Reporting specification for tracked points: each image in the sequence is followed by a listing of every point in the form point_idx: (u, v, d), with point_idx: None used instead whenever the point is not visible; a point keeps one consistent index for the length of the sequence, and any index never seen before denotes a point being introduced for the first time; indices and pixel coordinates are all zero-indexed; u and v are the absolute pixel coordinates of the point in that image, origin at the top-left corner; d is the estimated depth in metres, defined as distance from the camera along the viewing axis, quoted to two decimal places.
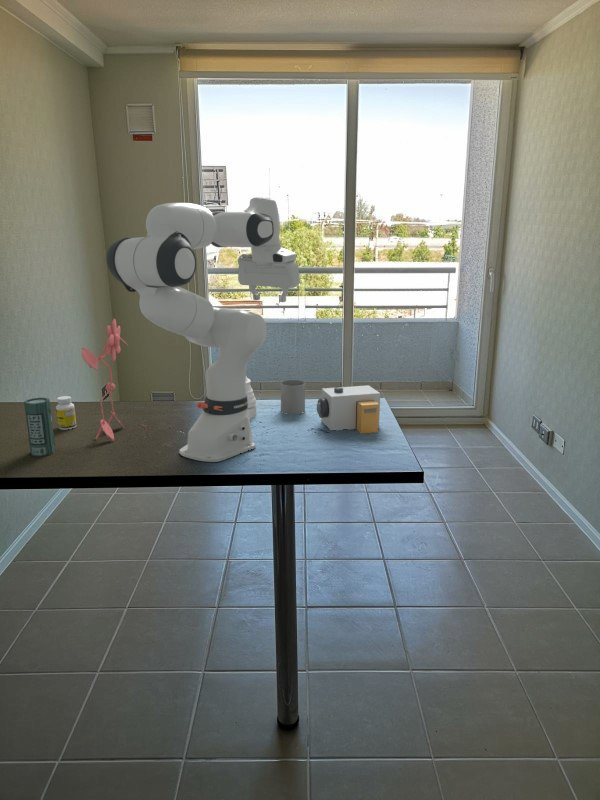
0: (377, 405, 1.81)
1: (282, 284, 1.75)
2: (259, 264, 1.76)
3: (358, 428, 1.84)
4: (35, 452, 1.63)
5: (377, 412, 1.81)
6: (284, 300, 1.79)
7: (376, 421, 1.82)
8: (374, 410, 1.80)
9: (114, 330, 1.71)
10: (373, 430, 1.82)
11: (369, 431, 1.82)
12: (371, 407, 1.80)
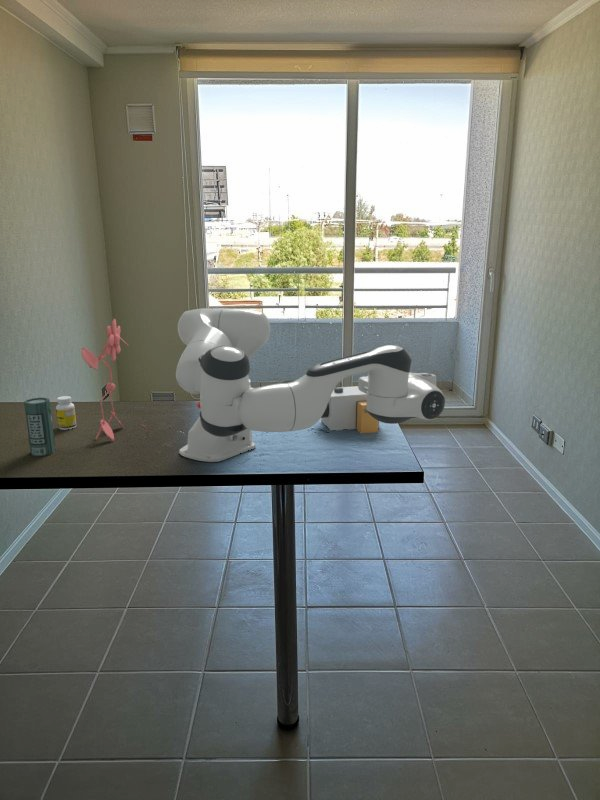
0: None
1: None
2: None
3: (358, 428, 1.84)
4: (35, 452, 1.63)
5: None
6: None
7: (376, 421, 1.82)
8: None
9: (114, 330, 1.71)
10: (373, 430, 1.82)
11: (369, 431, 1.82)
12: None
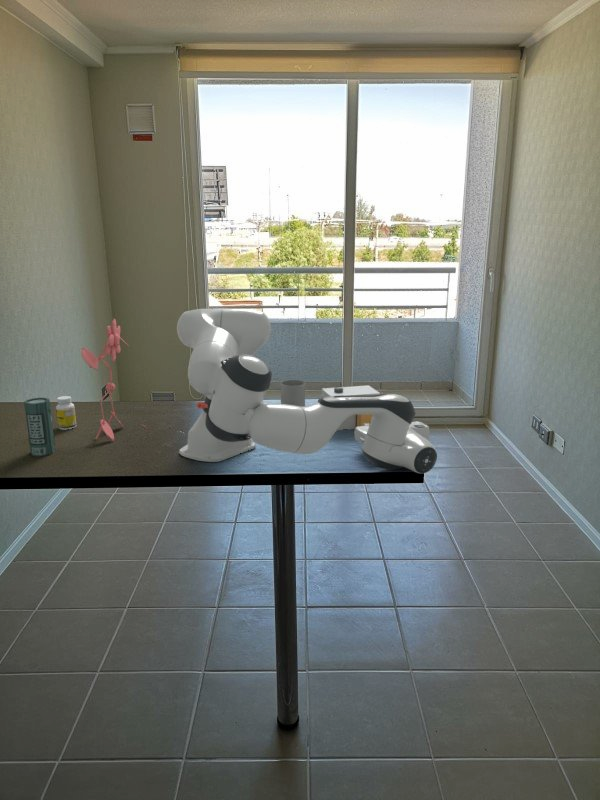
0: None
1: None
2: None
3: None
4: (35, 452, 1.63)
5: None
6: None
7: None
8: None
9: (114, 330, 1.71)
10: None
11: None
12: None
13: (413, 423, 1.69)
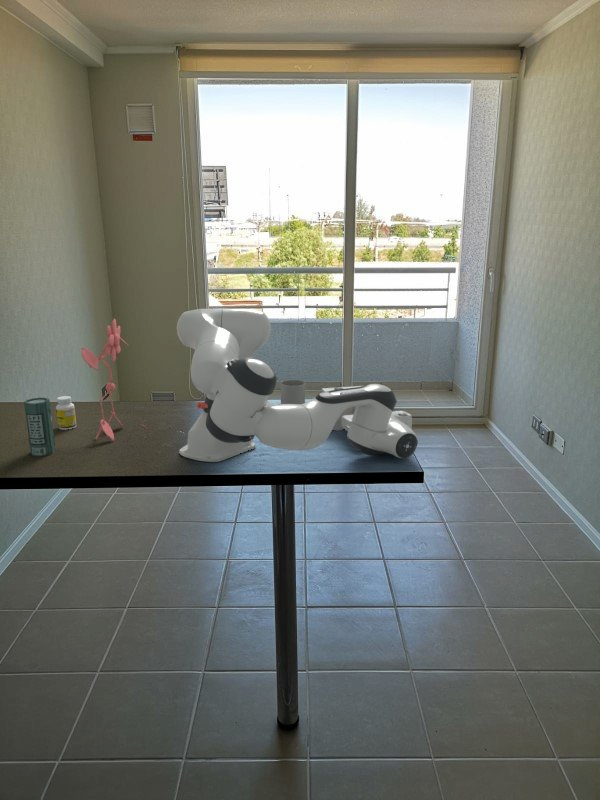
0: None
1: None
2: None
3: None
4: (35, 452, 1.63)
5: None
6: None
7: None
8: None
9: (114, 330, 1.71)
10: None
11: None
12: None
13: (397, 412, 1.79)
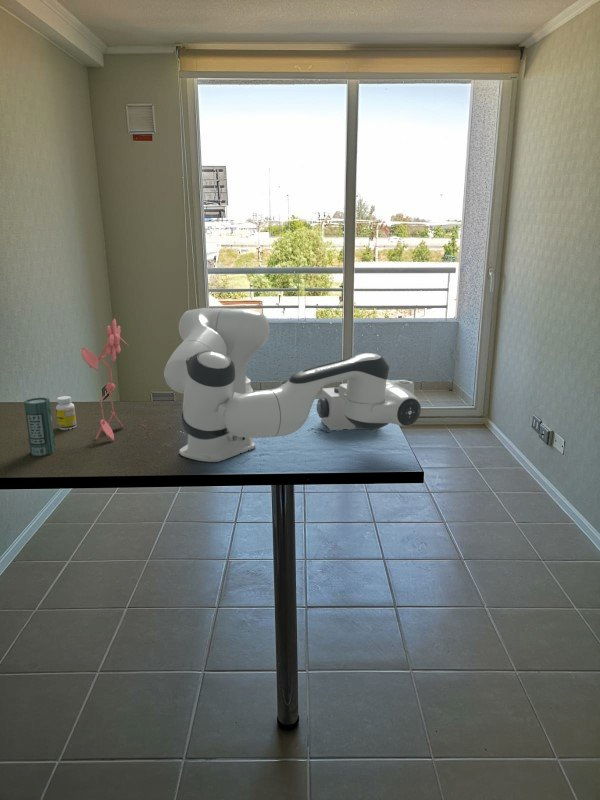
0: None
1: None
2: None
3: None
4: (35, 452, 1.63)
5: None
6: None
7: None
8: None
9: (114, 330, 1.71)
10: None
11: None
12: None
13: (398, 381, 1.67)
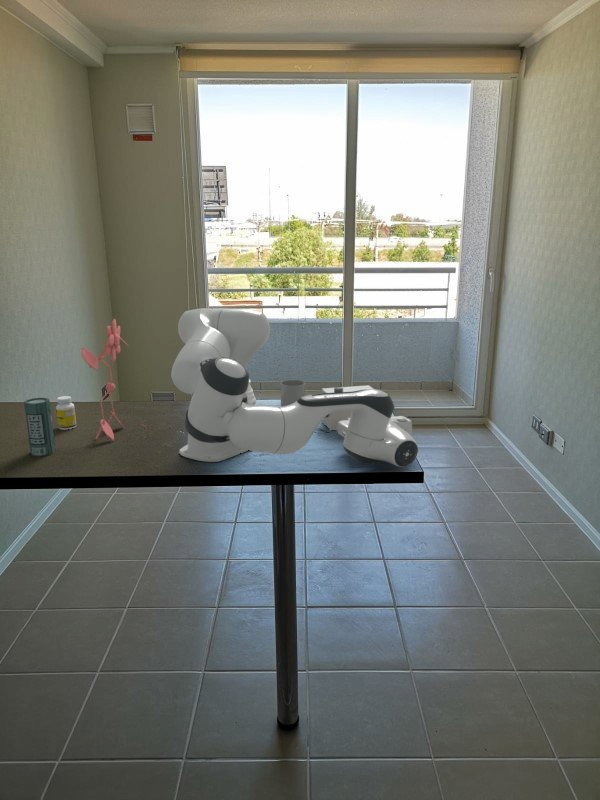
0: None
1: None
2: None
3: None
4: (35, 452, 1.63)
5: None
6: None
7: None
8: None
9: (114, 330, 1.71)
10: None
11: None
12: None
13: (396, 417, 1.70)
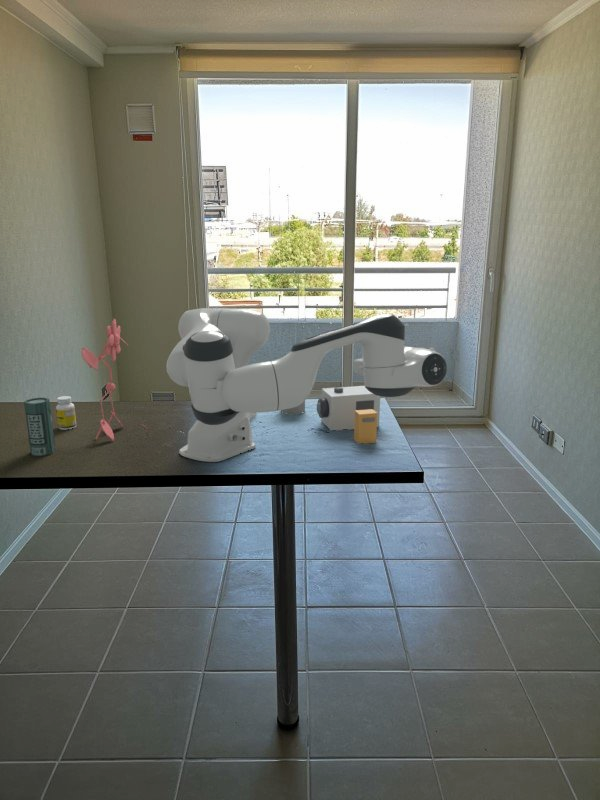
0: (375, 414, 1.72)
1: None
2: None
3: (355, 438, 1.75)
4: (35, 452, 1.63)
5: (375, 421, 1.72)
6: None
7: (374, 431, 1.73)
8: (372, 419, 1.71)
9: (114, 330, 1.71)
10: (371, 440, 1.74)
11: (367, 441, 1.73)
12: (369, 416, 1.71)
13: None
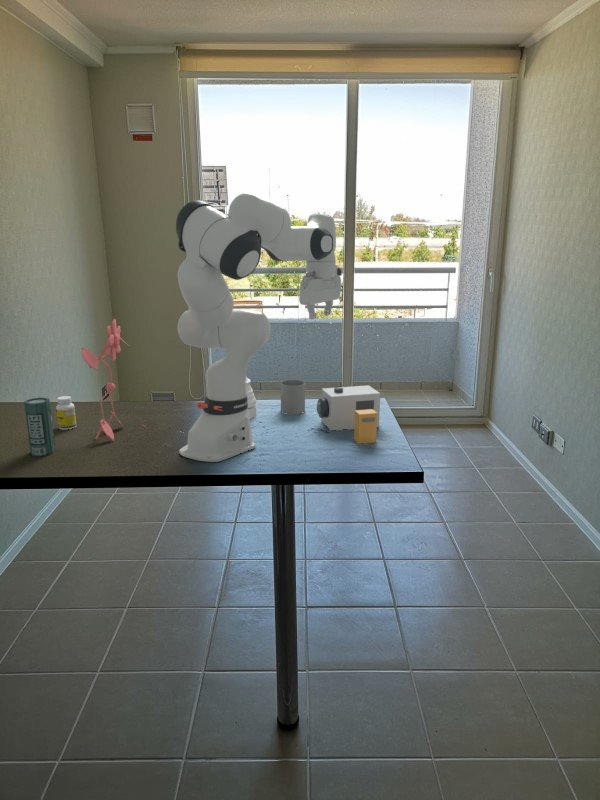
0: (375, 414, 1.72)
1: (334, 297, 1.85)
2: (328, 279, 1.77)
3: (355, 438, 1.75)
4: (35, 452, 1.63)
5: (375, 421, 1.72)
6: None
7: (374, 431, 1.73)
8: (372, 419, 1.71)
9: (114, 330, 1.71)
10: (371, 440, 1.74)
11: (367, 441, 1.73)
12: (369, 416, 1.71)
13: None
